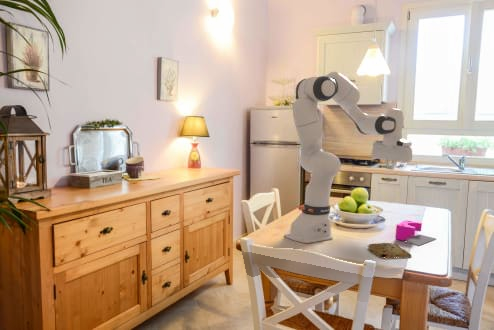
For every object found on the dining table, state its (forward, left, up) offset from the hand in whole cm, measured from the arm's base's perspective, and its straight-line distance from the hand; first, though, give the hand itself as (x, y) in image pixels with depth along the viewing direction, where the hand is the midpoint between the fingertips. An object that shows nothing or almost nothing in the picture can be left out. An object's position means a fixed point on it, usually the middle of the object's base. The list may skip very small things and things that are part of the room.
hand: (390, 169), depth 198 cm
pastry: (-34, -22, -30) cm, 50 cm away
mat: (-8, -21, -29) cm, 37 cm away
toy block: (-9, -12, -26) cm, 30 cm away
